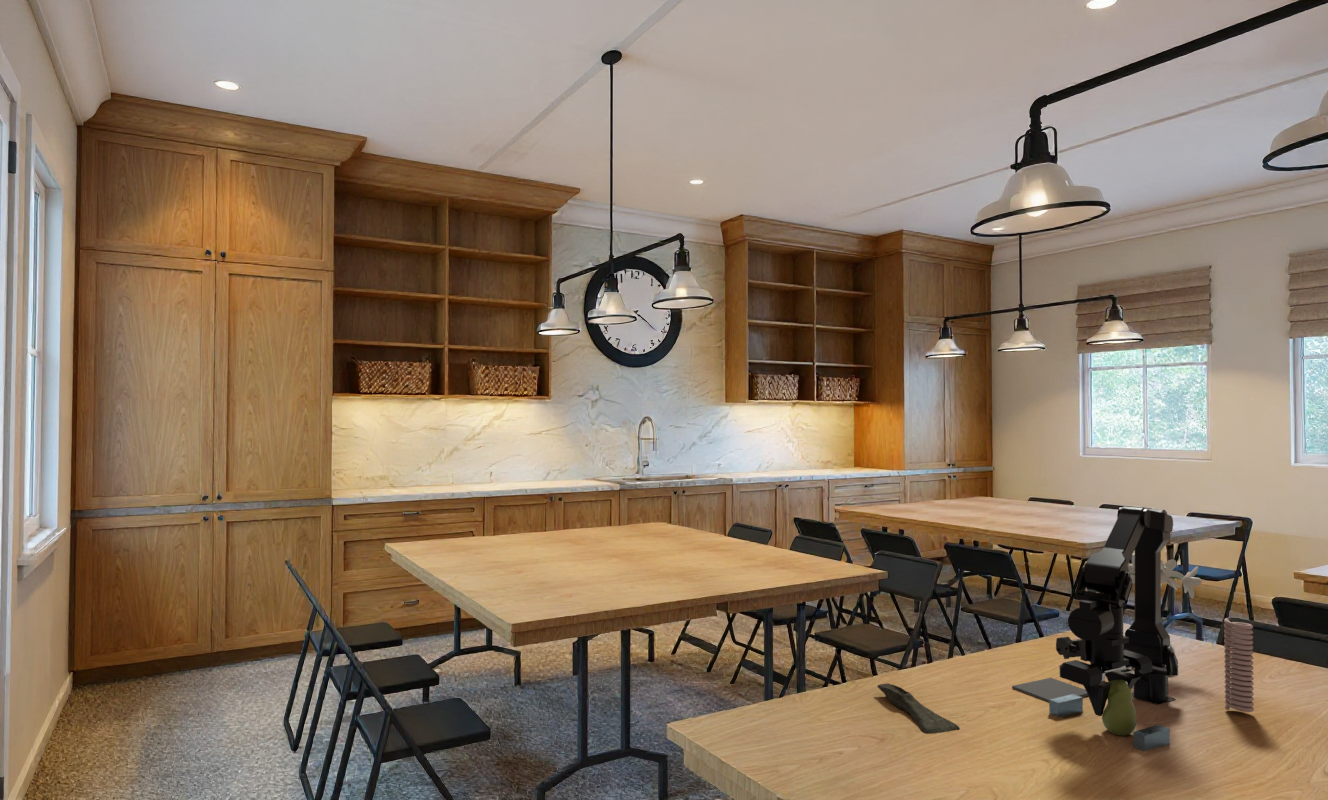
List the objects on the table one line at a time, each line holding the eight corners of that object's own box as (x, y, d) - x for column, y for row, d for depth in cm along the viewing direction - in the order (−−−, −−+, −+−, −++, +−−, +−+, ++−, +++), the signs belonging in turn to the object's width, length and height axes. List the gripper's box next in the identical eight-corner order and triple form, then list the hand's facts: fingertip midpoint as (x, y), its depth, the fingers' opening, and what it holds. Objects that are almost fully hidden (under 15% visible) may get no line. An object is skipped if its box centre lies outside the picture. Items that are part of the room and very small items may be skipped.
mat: (1050, 680, 174) (1050, 677, 174) (1092, 695, 165) (1092, 692, 165) (1012, 688, 169) (1012, 685, 169) (1053, 704, 160) (1053, 701, 160)
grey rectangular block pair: (1073, 709, 157) (1073, 693, 157) (1169, 745, 140) (1169, 728, 140) (1049, 715, 154) (1049, 699, 154) (1144, 753, 137) (1144, 735, 137)
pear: (1123, 742, 141) (1122, 686, 141) (1095, 731, 146) (1095, 677, 146) (1142, 736, 144) (1142, 681, 144) (1114, 726, 148) (1114, 673, 149)
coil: (1250, 709, 157) (1249, 618, 157) (1256, 717, 153) (1255, 624, 153) (1222, 705, 159) (1221, 616, 159) (1227, 713, 154) (1226, 621, 155)
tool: (962, 737, 145) (963, 720, 145) (927, 742, 143) (927, 726, 142) (895, 689, 165) (896, 675, 165) (863, 693, 162) (864, 679, 162)
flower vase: (1211, 671, 179) (1210, 561, 180) (1130, 671, 180) (1129, 561, 180) (1175, 653, 192) (1174, 551, 193) (1099, 653, 193) (1098, 551, 193)
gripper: (1098, 613, 158) (1099, 691, 158) (1034, 625, 150) (1034, 707, 150) (1153, 627, 148) (1154, 710, 148) (1087, 640, 140) (1088, 728, 140)
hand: (1106, 713), depth 147 cm, fingers closed on pear, 4 cm apart
